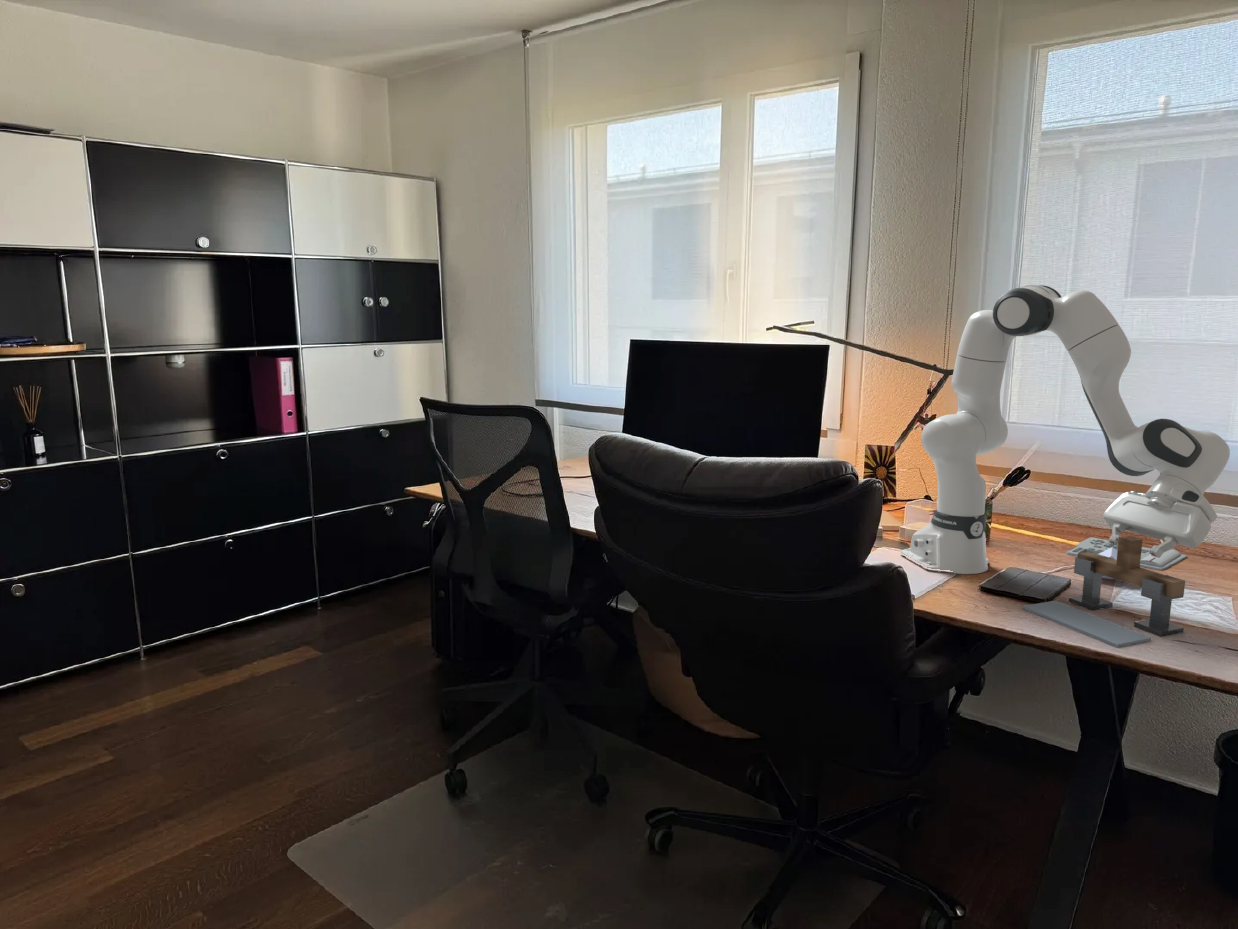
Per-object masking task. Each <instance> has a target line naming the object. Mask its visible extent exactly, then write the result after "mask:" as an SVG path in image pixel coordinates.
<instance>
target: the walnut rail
mask: <svg viewBox="0 0 1238 929" xmlns="http://www.w3.org/2000/svg"><path fill="white" fill-rule="evenodd" d="M1143 540H1144V539H1143V538H1139V537H1136V536H1131V535H1125V536H1120V537H1119V541H1118V551H1117V560H1114V559H1111V558H1107V557H1104V556H1101V555H1098V554H1096V553H1091V552H1082V553H1078V556H1077V557H1081V558H1085V559H1088V560H1091V561H1094V562H1095V570H1094V572H1096V573H1099V574H1102V575H1105V576H1108V577H1111V578H1114V579H1113V580H1118V581H1121V582H1123V583H1127V584H1130V585H1132V586H1136V587H1138V588H1141V589H1142V579H1144V578H1148V579H1151V580H1155V581H1158V582H1161V583H1164V584H1166V585H1165V595H1166V596H1169V597H1176V596H1181V595H1182V594H1183V585H1184V581H1183V580H1184V579H1182V580H1180V579H1181V578H1178V579H1176V578H1177V577H1175V578H1173V577H1174V576H1172V577H1170V576H1171V575H1169V576H1167V575H1168V574H1163V573H1160V572H1157V571H1154V570H1151V569H1148V568H1144V567H1140V560H1141V550H1142V547H1143Z"/></svg>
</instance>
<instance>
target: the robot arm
mask: <svg viewBox="0 0 1238 929" xmlns="http://www.w3.org/2000/svg"><path fill="white" fill-rule="evenodd" d="M1044 331H1050V332H1052V333H1054V334H1055V335H1056V336H1057V337H1058V339H1059V340H1060V341H1061V344H1063V347H1064V348H1065V349H1066V351H1067V352H1068V354H1069V356H1070V359H1071V360H1072V361H1073V365H1074V366H1075V368H1076V370H1077V373H1078V375H1079V379H1080V382H1081V383H1080V384H1081V385H1082V386H1081V387H1082V390H1083V393H1084V394H1085V395H1084V396H1085V397H1086V400H1087V402H1088V404H1089V406H1090V408H1091V410H1092V413H1093V415H1094V417H1095V418H1096V421H1097V423H1098V426H1099V427H1100V430H1101V432H1102V434H1103V436H1104V439H1105V444H1106V450H1107V456H1108V458H1109V459H1108V460H1109V461H1110V464H1111V465H1112V466H1113V467H1114V468H1115V469H1116V470H1117V471H1118V472H1120V473H1122V474H1124V475H1126V476H1130V477H1140V476H1141V477H1142V476H1144V475H1146V474H1148V473H1151V472H1153V471H1154V470H1156V471H1158V472H1159V475H1158V477H1157V478H1156V479H1155V480H1154V482H1153V483H1152V485H1151V486H1150V487H1149V488H1148V490H1147V491H1146V492H1141V491H1137V490H1131V491H1126V492H1124V493H1121V495H1120V496H1119V497H1117V498H1116V499H1115V500H1114V501H1113V502H1112V503H1111V504H1109V506H1108V507H1107V508H1106V509H1105V511H1104V512H1103V519H1104V521H1105V523H1107V525H1108V526H1109V527H1112V529H1111V530H1112V531H1111V535H1110V537H1109V538H1108V539H1107V540H1108V541H1109V542H1110V544H1112V545H1115V546H1118V541H1119V537H1121V536H1120V535H1121V534H1124V533H1125V531H1127V532H1131V533H1133V534H1138V535H1143V536H1146V537H1149V538H1153V539H1156V540H1161V541H1163V542H1162V543H1160V544H1158V545H1152V547H1151V549H1150V551H1149V553H1150V554H1151V555H1152V556H1154V557H1157V558H1160V557H1161V556H1162V554H1163V553H1164V552H1166V551H1168V550H1170V549H1173V550H1174V549H1175V548H1176V547H1177V545H1180V546H1184V547H1187V548H1195V547H1198V546H1200V545H1201V544H1202V542H1204V540H1205V539H1206V538H1207V536H1208V534H1209V532H1210V531H1211V528H1212V523H1214V522H1215V521H1216V520H1217V518H1218V515H1217V513H1216V511H1215V509H1214V507H1213V506H1212V505H1211V503H1210V502H1209V501H1208V499H1207V498H1206V497H1205V496H1204V494H1205V492H1206V490H1207V489H1209V488H1210V487H1212V486H1213V485H1214V483H1216V481H1217V480H1218V478H1219V477H1220V476H1221V474H1222V472H1223V471H1224V469H1225V467H1226V466H1227V464H1228V463H1229V462H1228V461H1229V459H1230V455H1231V449H1230V447H1229V445H1228V443H1227V441H1226V440H1225V439H1223V438H1222V437H1221V436H1219V435H1218V434H1216V433H1214V432H1212V431H1210V430H1209V431H1208V430H1195V429H1191V428H1188V427H1186V426H1183V425H1181V424H1180V423H1179V422H1177V421H1175V420H1173V419H1169V418H1158V419H1155V420H1151V421H1149V422H1146V423H1145V424H1142V425H1140V426H1136V425H1135V423H1134V422H1133V420H1132V417H1131V415H1130V413H1129V411H1128V409H1127V407H1126V405H1125V403H1124V401H1123V398H1122V396H1121V394H1120V382H1121V381H1120V380H1121V377H1122V376H1123V373H1124V371H1125V369H1126V368H1127V366H1128V364H1129V362H1130V359H1131V356H1132V349H1131V345H1130V343H1129V342H1130V341H1129V340H1128V337H1127V334H1126V333H1125V331H1123V329H1122V327H1121V326H1120V324H1119V323H1118V320H1116V318H1115V317H1114V315H1113V314H1112V312H1111V311H1110V309H1108V307H1107V306H1106V305H1105V304H1104V303H1103V301H1101V299H1099V297H1097V296H1096V295H1095V294H1094V293H1093V292H1092V291H1089V290H1075V291H1071V292H1070V293H1067V294H1066V295H1063V296H1062V295H1061V294H1060V293H1059V291H1057V290H1056V289H1054V288H1053V287H1051V286H1047V285H1043V284H1042V285H1040V284H1038V285H1037V284H1034V285H1033V284H1031V285H1030V284H1028V285H1024V286H1022V287H1017V288H1011V289H1010V290H1008V291H1006V292H1004V293H1003V294H1002V295H1001V296H999V297H998V299H997V300H996V301H995V303H994V306H993V309H984V310H983V309H981V310H978V311H976V312H974V313H973V314H971V315H970V317H968V319H967V322H966V324H965V326H964V329H963V332H962V334H961V338H960V339H959V340H960V341H959V345H958V348H957V353H956V358H955V362H954V368H953V371H952V372H953V373H952V376H951V382H950V383H951V384H950V385H951V388H952V390H953V391H954V393H956V397H957V412H956V413H951V414H945V415H941V416H939V417H937V418H934V419H933V420H931V421H929V422H928V423H927V424H926V425H925V426H924V427H923V429H922V432H921V436H920V437H921V438H920V439H921V444H922V447H923V450H924V451H925V452H926V454H928V456H930V458H931V459H932V462H933V464H934V468H935V472H936V477H937V501H936V509H935V510H934V509H932V510H929V511H928V512H931V513H929V514H928V515H929V516H932V517H931V519H930V523H928V524H927V525H925V526H923V527H921V528H920V529H918V530H917V531H915V532H914V533H913V534H912V537H911V541H910V547H908V548H905V549H902V550H900V554H901V553H902V554H904V555H906V556H908V557H910V558H913V559H914V560H915V561H917V562H918V563H920V564H923V565H924V566H926V567H927V568H931V569H940V570H950V571H953V572H956V573H957V574H956V573H955V574H956V575H973V574H974V575H975V574H980V573H981V574H982V573H985V572H987V571H988V570H989V566H988V564H989V563H990V562H989V558H988V557H987V544H986V543H987V542H986V532H985V528H986V526H987V513H986V512H985V508H986V493H987V483H986V480H985V479H984V477H982V476H981V474H980V473H979V470H978V465H977V459H976V458H977V456H980V455H986V454H989V453H991V452H993V451H995V450H997V449H998V448H1000V447H1001V446H1003V445H1004V443H1005V442H1006V440H1007V437H1008V433H1009V429H1008V425H1007V422H1006V421H1005V419H1004V418H1003V417H1002V412H1001V388H1002V383H1003V378H1004V373H1005V369H1006V364H1007V360H1008V354H1009V350H1010V346H1011V344H1012V342H1013V340H1014V339H1015V338H1016V337H1024V336H1033V335H1036V334H1039V333H1041V332H1044ZM925 564H929V565H925Z"/></svg>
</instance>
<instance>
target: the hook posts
mask: <svg viewBox="0 0 1238 929" xmlns="http://www.w3.org/2000/svg"><path fill="white" fill-rule="evenodd" d="M1098 555H1099V554H1098ZM1101 556H1103V555H1101ZM1104 557H1106V556H1104ZM1107 558H1109V557H1107ZM1111 559H1113V558H1111ZM1094 570H1095V562H1094V561H1091V560H1088V559H1085V558H1081V557H1075V556H1074V566H1073V573H1074V574H1076V575H1079V576H1082V577H1083V583H1082V593H1081V595H1076V596H1070V597H1068V603H1071V604H1074V605H1077V606H1078V607H1081V608H1084V609H1087V610H1089V611H1097V610H1103V609H1108V608H1113V606H1114V602H1112V601H1109V600H1107V599H1104V598H1101V591H1102V590H1101V588H1102V576H1105V575H1102V574H1099V573H1096V572H1094ZM1166 575H1167V576H1170V577H1173V578H1176V579H1180V580H1183V581H1184V585H1183V594H1182V595H1181V596H1176V597H1169V596H1166V595H1165V585H1166V584H1164V583H1161V582H1158V581H1155V580H1151V579H1148V578H1144V579H1142V588H1141V592H1140V596H1141V597H1145V598H1147V599H1151V601H1150V602H1151V604H1150V611H1149V612H1150V613H1149V618H1148V619H1143V620H1138V621H1134V624H1133V626H1134V628H1137V629H1140V630H1143V631H1145V632H1148V633H1150V634H1153V635H1156V636H1158V637H1161V638H1165V637H1168V636H1173V635H1179V634H1183V633H1184V630H1185V627H1182V626H1180V625H1178V624H1177V625H1176V624H1174V623H1172V622H1170V619H1171V612H1172V611H1171V610H1172V601H1173V600H1176V599H1181V598H1185V597H1184V596H1185V595H1184V594H1185V587H1186V580H1185V579H1181V578H1178V577H1175V576H1172V575H1168V574H1166Z"/></svg>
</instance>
